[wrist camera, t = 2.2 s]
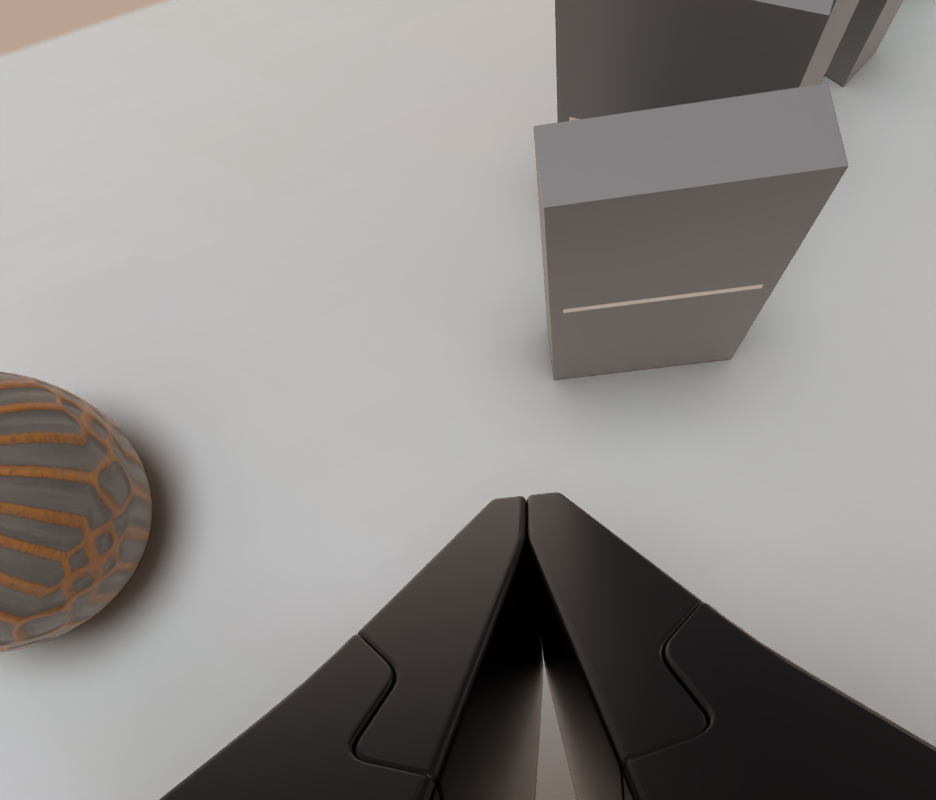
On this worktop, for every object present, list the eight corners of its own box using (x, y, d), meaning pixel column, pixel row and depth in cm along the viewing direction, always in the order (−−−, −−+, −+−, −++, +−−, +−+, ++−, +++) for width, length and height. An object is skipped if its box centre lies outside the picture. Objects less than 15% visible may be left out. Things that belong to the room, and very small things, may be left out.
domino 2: (731, 359, 23) (848, 166, 13) (553, 380, 23) (544, 207, 14) (721, 306, 23) (827, 82, 14) (547, 328, 24) (533, 126, 14)
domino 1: (723, 263, 24) (828, 15, 14) (559, 219, 25) (554, -40, 15) (738, 215, 24) (850, -59, 14) (576, 174, 25) (580, -107, 15)
